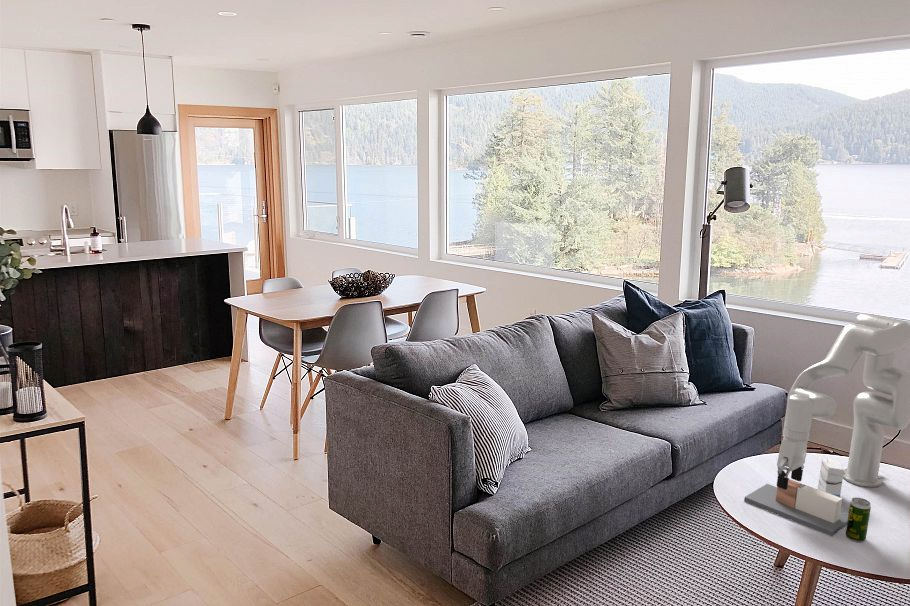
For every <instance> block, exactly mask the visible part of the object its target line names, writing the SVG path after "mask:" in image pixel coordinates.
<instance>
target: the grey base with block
mask: <svg viewBox="0 0 910 606" xmlns="http://www.w3.org/2000/svg"><path fill="white" fill-rule="evenodd" d="M776 494H777V486H775V485H773V484H770V483H769V484H768V483H766V484H764V485H763V486H761V487H759V488H758V489H756V490H753V491H752V492H750V493H749V494H747V495H746V496H744V500H743V501H744V503H745V502H746V503H748V504H750V505H752V504H753V506H756V507H758V508H760V507H761V509H762V508H763V509H762V510H764V511H767V510H768V512H770V513H772V512H773V514H775V515H777V514H778V516H780V517H782V518H785V519H787V520H790V521H792V522H795V523H798V524H800V525H803V526H806V527H808V528H810V529H813V530H814V531H817V532H820V533H822V534H825V535H828V536H830V537H833V536H835V535H836V534H837V533H839V532H840V531H842V530H843V529H844V528H845V527H847V521H848V514H849V513H848V512H847V513H846V512H844V511H842V504H843V497H841V496H840V497H837V496H834V495H832V494H829V493H826V492H823V491H821V490H818V488H815V487H812V486H809V485H806V484H803V483H802V486H800V487H798V489H797V496H796V504H795V508H793V507H790V506H788V505H785V504H783V503H780V502H778V501H776Z"/></svg>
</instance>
